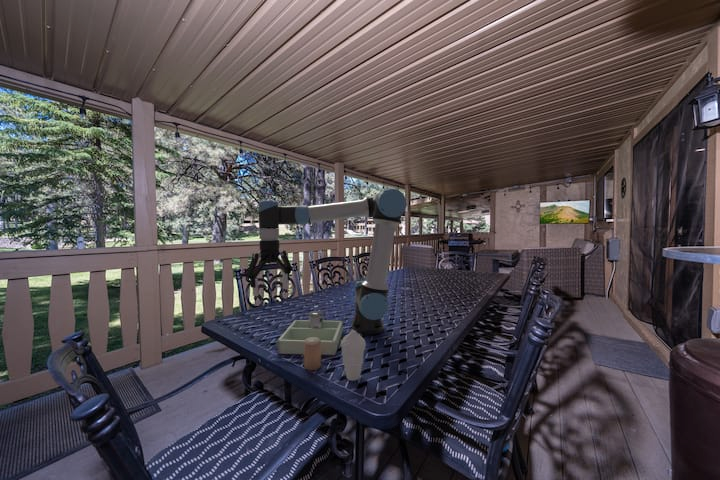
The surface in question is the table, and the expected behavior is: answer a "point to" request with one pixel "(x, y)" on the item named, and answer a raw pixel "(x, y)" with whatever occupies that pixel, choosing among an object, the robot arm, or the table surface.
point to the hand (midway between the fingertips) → (271, 292)
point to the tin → (316, 319)
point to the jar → (312, 353)
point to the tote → (300, 331)
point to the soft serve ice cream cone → (353, 354)
